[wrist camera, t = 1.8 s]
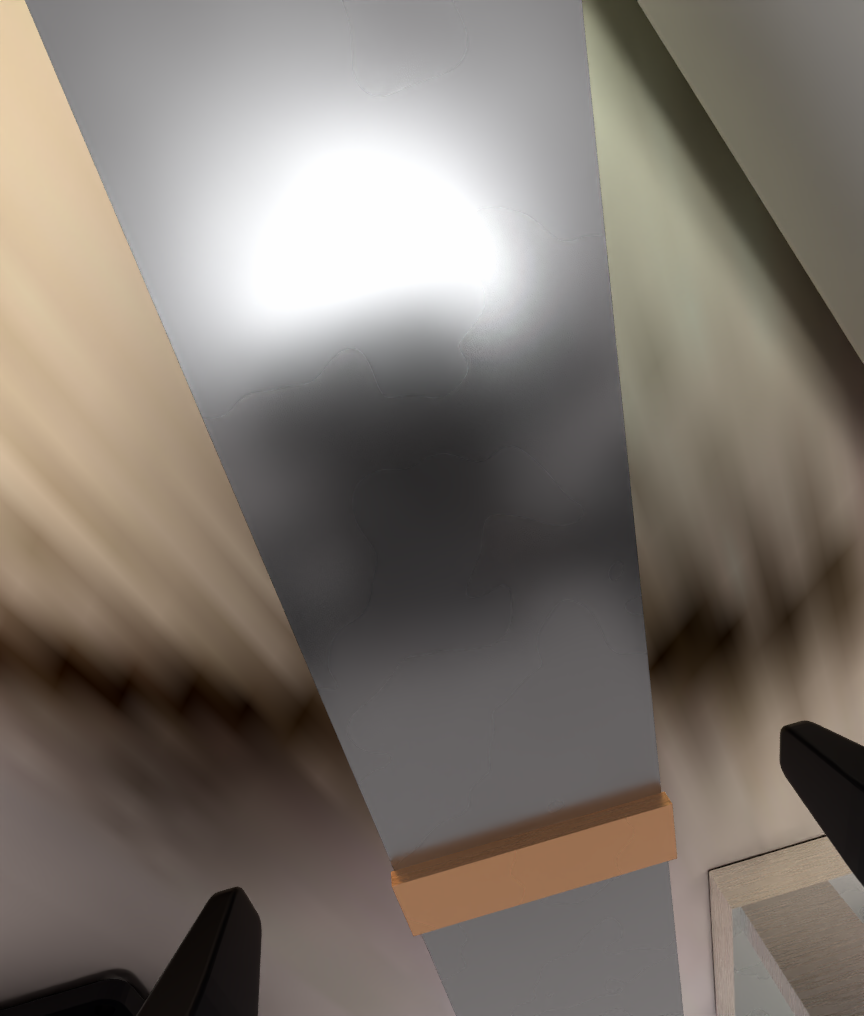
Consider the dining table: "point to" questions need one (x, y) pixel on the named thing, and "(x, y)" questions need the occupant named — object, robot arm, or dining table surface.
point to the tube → (788, 121)
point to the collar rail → (788, 934)
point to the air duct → (418, 438)
